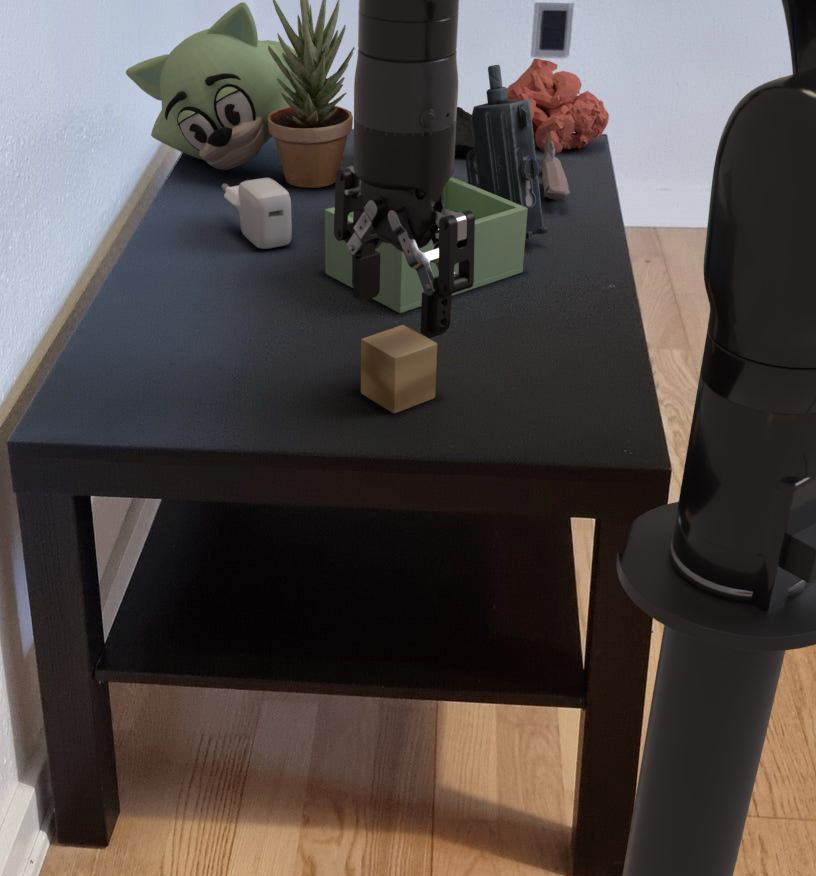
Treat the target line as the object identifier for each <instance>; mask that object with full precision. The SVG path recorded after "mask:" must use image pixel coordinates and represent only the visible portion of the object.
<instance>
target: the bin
mask: <svg viewBox="0 0 816 876" xmlns="http://www.w3.org/2000/svg"><path fill="white" fill-rule="evenodd" d="M443 194H444V200H445V204H446V208H447V209H448V210H451V211H454V212H456V213H459V212H462V211H466V210H470V211H472V213H473V214H474V217H475V241H474V284H473V286H472V287H471V288H468V289H465V290H462V291H459V292H456V293H453V294H452V297H453V296H456V295H460V294H462V293H465V292H468V291H471V290H474V289H477V288H479V287H482V286H483V287H484V286H486V285H489V284H492V283H495V282H498V281H500V280H503V279H507V278H510V277H513V276H515V275H519V274H521V273H524V271H523V270H524V260H525V246H526V239H525V236H526V223H527V210H528V208H526V207H523V206H521V205H519V204H516V203H514V202H511V201H509V200H507V199H504V198H502V197H499V196H497V195H494V194H492V193H490V192H487V191H485V190H482V189H480V188H477V187H475V186H472V185H470V184H468V183H466V182H465V181H464V180H460V179H457V178H456V177H453V176H451V178H450V179H449V180H448V182H447V183H446V185H445V187H444V190H443ZM334 211H335V206H333V207H329V208H325V209H324V257H325V258H324V263H325V264H324V265H325V266H324V268H325V274H326V276H329V277H331V278H332V279H335V280H337V281H338V282H340V283H342V284H344V285H345V286H347V287H350V288H351V289H353V285H352V272H353V271H352V255H351V254H350V253H349V252H348V249H347V243H346V242H345V241H344V240H342V241H338V240H337V239H336V238H335V236H334ZM353 213H354V212H351V213H349V215H348V223H351V222H353ZM419 250H420V251H421V252H428V251H431V250H434V245H433V242H432V239H431V240H430V242H429V243H428V244H427V245H426V246H424V247H422V248H419ZM375 251H377V252H379V253H380V291H379V294H378V295H377V296H376V297H373V298H371V299H372V300H374V301H376V302H378V303H379V304H381V305H384V306H385V307H387V308H389V309H391V310H393V311H395V312H396V313H398V314H403V313H406V312H408V311H412V310H414V309H417V308H420V307H421V304H422V292H424V290H423V287H422V284H421V282H420V279H419V276H418V274H417V271H416V270H415V269H413V268H411V267H410V266H409V265H408V263H407V260H406V257H405V255H404V252H402V251H400V250H398V249H397V248H396V247H395V246H393V245H392V244H391V243H384V242H382V243H381V245H380V246H379V247H378V248H377V249H375ZM429 264H430V267H431V270H432V272H433V275H434V277H437V276H439V271H438V268H437V266H436V264H435V263H433V262H432V263H429ZM454 272H455V274H459V263H456V264H455V266H454Z"/></svg>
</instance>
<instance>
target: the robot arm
mask: <svg viewBox="0 0 816 876" xmlns="http://www.w3.org/2000/svg"><path fill="white" fill-rule="evenodd" d="M780 1H781V4H782V10H783V14H784V21H785V25H786V31H787V38H788V44H789V52H790V59H791V70H792V74H788V75H785V76H781V77H778V78H775V79H771V80H769V81H767V82H765V83H762V84H759V86H756V87H755V88H753V89H751V90H750V91H749V92H747V93H746V94H745V95H744V96H743V97H742V98H741V99H740V100H739V101H738V103H737V104H736V105H735V106H734V107H733V110H732V111H731V113H729V116H728V118H727V121H726V123H725V125H724V127H723V130H722V132H721V136H720V138H719V142H718V146H717V150H716V153H715V154H716V155H715V160H714V164H713V172H712V180H711V188H710V197H709V207H708V218H707V226H706V227H707V228H706V236H705V237H706V238H705V246H704V256H703V272H702V273H703V282H704V288H705V292H706V296H707V300H708V303H709V315H708V321H707V329H706V335H705V341H704V347H703V353H702V354H703V355H702V359H701V365H700V371H699V378H698V383H697V389H696V390H697V391H696V396H695V402H694V408H693V413H692V419H691V425H690V432H689V438H688V442H687V448H686V455H685V461H684V467H683V473H682V479H681V486H680V491H679V497H678V501H677V502H678V510H677V516H676V522H675V528H674V533H673V535H672V538H671V544H670V550H669V559H670V562H671V565H672V567H673V568H674V570H675V571H676V573H677V574H678V575H679V576H680V577H681V578H682V579H683V580H684V581H686V582H687V583H688V584H690V585H691V586H693V587H695V588H696V589H698V590H700V591H702V592H704V593H706V594H709V595H711V596H714V597H717V598H721V599H724V600H728V601H733V602H739V603H747V604H751V605H753V606H755V607H757V608H759V609H760V610H763V611H768V610H770V609H772V608H773V607H775V606H777V605H779V604H780V603H782V602H784V601H785V600H787V599H789V598H791V597H793V596H795V595H797V594H799V593H800V592H801V591H803V590H804V589H806V588H808V587H810V586H811V585H813V584H815V583H816V0H780ZM459 9H460V0H358V11H357V13H358V17H357V18H358V21H357V26H358V27H357V28H358V29H357V30H358V31H357V47H358V49H357V60H356V67H355V73H354V81H353V162H352V163H353V165H350V166H346V167H345V168H341V169H339V170H338V171H337V172H336V182H335V187H334V188H335V189H334V190H335V191H334V207H335V211H334V236H335V238H336V239H337V240H338V241H342V240H344V241H345V242H346V243H347V249H348V252H349V253H350V254H351V255H352V271H353V272H352V285H353V288H352V290H353V291H352V294H353V297H354V298H355V299H357V300H358V301H361V302H364V301H367V300H370V299H372V298H373V297H376V296H377V295H378V294H379V291H380V253H379V252H377V251H375V249H377V248H378V247H379V246H380V245H381V243H382V242H384V243H391V244H392V245H393V246H395V247H396V248H397V249H398V250H400V251H402V252H404V255H405V257H406V260H407V263H408V265H409V266H410V267H411V268H413V269H415V270H416V271H417V274H418V276H419V279H420V282H421V284H422V287H423V290H424V292H422V304H421V309H420V330H419V331H420V334H421V335H423V336H425V337H426V338H428V339H433V338H435V337H438V336H441V335H444V334H445V333H446V332H447V331H448V330H449V328H450V326H451V315H452V301H453V300H452V297H453V296H452V294H453V293H456V292H459V291H462V290H465V289H468V288H471V287H472V286H473V284H474V241H475V217H474V214H473V213H472V211H470V210H466V211H462V212H459V213H456V212H454V211H451V210H448V209H447V208H446V204H445V200H444V194H443V190H444V187H445V185H446V183H447V182H448V180H449V179H450V178H451V177H453V174H454V171H455V159H456V158H455V156H456V154H455V140H456V120H457V107H458V101H459V100H458V99H459V73H458V72H459V71H458V59H457V53H458V52H457V51H458V50H457V48H458V46H457V45H458V30H459ZM351 212H354V213H353V222H351V223H348V215H349V213H351ZM431 239H432V242H433V245H434V250H431V251H428V252H421V251H420V250H419V248H422V247H424V246H426V245H427V244H428V243H429V242H430V240H431ZM432 262H433V263H435V264H436V266H437V268H438V271H439V276H437V277H434V275H433V272H432V270H431V267H430V264H429V263H432ZM456 263H459V274H455V272H454V266H455V264H456Z"/></svg>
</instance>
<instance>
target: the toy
mask: <svg viewBox="0 0 816 876" xmlns="http://www.w3.org/2000/svg"><path fill="white" fill-rule="evenodd" d="M257 29H258V28H257V25H256V21H255V18H254V16H253V14H252V11H251V9H250V8H249V6H248V4H247V3H246V2H243V1H241V2H239V3H237V4H236V5H235V6H233V7H231V8H230V9H228V10H227V12H225V13H224V14H223V15H222V16H221V17H220V18H219V19H217V21H215V22H214V23H213V24H212V25H211V26H210V28H206V29H203V30H201V31H198V32H195V33H193V34H191V35H190V36H188V37H186V38H185V39H183V40H182V41H181V42H180V43H178V44H177V45H176V46H175V47H174V48H173V49H172V50H171V51H170V52H169V54H161V55H158V56H155V57H154V56H153V57H151V58H148V59H145V60H143V61H141V62H138V63H136V64H133V65H131V66H130V67H128V68H127V69H126V70H125V75H126V76H127V77H128V78H129V79H130V80H131V81H132V82H133V83H134V84H135V85H136V86H138V88H140V90H142V91H143V92H144V93H145V94H147V96H150V97H152V98H153V99H155V100H157V101H160V102H161V110H160V112H159V113H158V116H157V118H156V119H155V121H154V125H153V127H152V130H151V132H150V133H151V134H150V136H151V137H152V138H153V139H155V140H156V141H158V142H160V143H162V144H164V145H165V146H168V147H170V148H173V149H174V150H176V151H179V152H181V153H183V154H185V155H187V156H191V157H193V158H196V159H199V160H203V161H205V162H206V163H207V164H208V165H210V166H211V167H213V168H214V169H216V170H217V169H218V170H225V171H227V170H231V169H234V168H236V167H238V166H241V165H243V164H246V163H247V162H249V161H250V160H252V159H253V158H255V157H256V156H257V154H258V153H259V152H260V150H261V149H262V147H263V145H265V144H266V143H267V142H269V140H271V139H272V138H274V137H273V136H272V135H271V134H270V133H269V128H268V116H269V114H270V113H272V112H273V111H276V110H278V109H281V108H284V107H290V106H289V104H288V103H287V102H286V101H285V99H284V98H283V96H282V94H281V93H283V94H284V95H286V96H287V97H289V98H290V99H291V100H292V101H293V99H292V98H291V97H290V95H289V94H288V93H287V92H286V91H285V90H284V89H283V88H282V86H281V85H280V84H279V83H278V81H277V78H278V79H279V80H281V81H282V82H283V83H284V84H285V85H286V86H287V87H288V88H289V89H290V90H291V91H293V92H295V93H296V91H295V89H294V88H293V86H292V85H291V83H290V81H289V80H288V79H287V77H286V76H285V75H284V74H283V72H282V71H281V69H280V68H279V66H278V65H277V63H276V62H275V60H274V59H273V57H272V56H271V54H270V52H269V50H268V45H269V46H270V47H271V49H272V50H273V51H274V52H275V53H276V55H277V56H278V57H279V59H280V60H281V62H282V63H283V65H284V66H285V67H286V68H287V70H288V71H289V73H290V74H291V69H290V67H289V66H288V64H287V63H286V61H285V60H284V58H283V55H282V53H284V54H285V52H284V50H283V48H282V46H281V44H280V41H276V40H270V39H269V40H268V39H267V40H265V39H264V40H259V37H258V36H259V35H258V30H257ZM286 45H287V46H288V48H289V49H290V50H291V52H292V53H293V54H294V55H295V56H296V57H298V56H297V54H296V52H295V50H294V48H293V47H292V46H290V45H289V44H286ZM285 55H286V54H285ZM291 76H292V75H291Z"/></svg>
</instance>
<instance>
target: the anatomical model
mask: <svg viewBox="0 0 816 876" xmlns="http://www.w3.org/2000/svg"><path fill="white" fill-rule="evenodd" d="M556 70H558V63H555V62H553V61H551V60H544V59H541V58H533V60H532V62H531V64H530V66H529V67H528V68H527V69H526V70H525V71H524V72H523V73H522V74H521V75H520V76H519V77H518V78H517V80H515V81H514V82H512V83H511V84H509V85H508V87H506V88H507V95H508V101H512V100H528V99H530V108H531V117H532V127H533V136H534V145H535V149H537V148H538V149H539V150H541V151H542V152H543V153H545V150H544V147H545V145H546V136H547V133H548V140H549V141H552V142H553V144H554V147H555V154H554V156H556V155H558V154H560V153H561V152H562V151H563V150H571V149H581V148H584V147H586V146H587V145H588V144H589V142H593V139H598V137H600V136H602V135H603V133H604V131H605V129H606V128H607V126H608V124H609V120H610V114H609V112H608V110H607V109H606V108H605V105H604V101H602V100H601V99H599V98H597V96H596V95H594V93H591V92H590V91H589V90H585V91H584V92H582V93H580V91H581V88H582V85H583V83H582V81H581V79H580V78H579V76H578V75H577V74H575V73H573V72H570V71H565V70H561V71H556ZM554 71H556V72H554ZM553 72H554V73H553Z"/></svg>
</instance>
